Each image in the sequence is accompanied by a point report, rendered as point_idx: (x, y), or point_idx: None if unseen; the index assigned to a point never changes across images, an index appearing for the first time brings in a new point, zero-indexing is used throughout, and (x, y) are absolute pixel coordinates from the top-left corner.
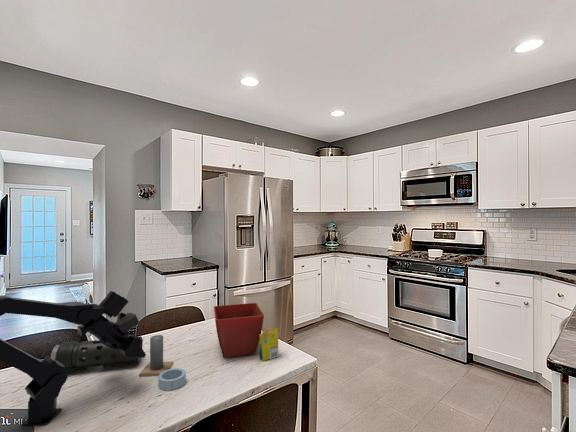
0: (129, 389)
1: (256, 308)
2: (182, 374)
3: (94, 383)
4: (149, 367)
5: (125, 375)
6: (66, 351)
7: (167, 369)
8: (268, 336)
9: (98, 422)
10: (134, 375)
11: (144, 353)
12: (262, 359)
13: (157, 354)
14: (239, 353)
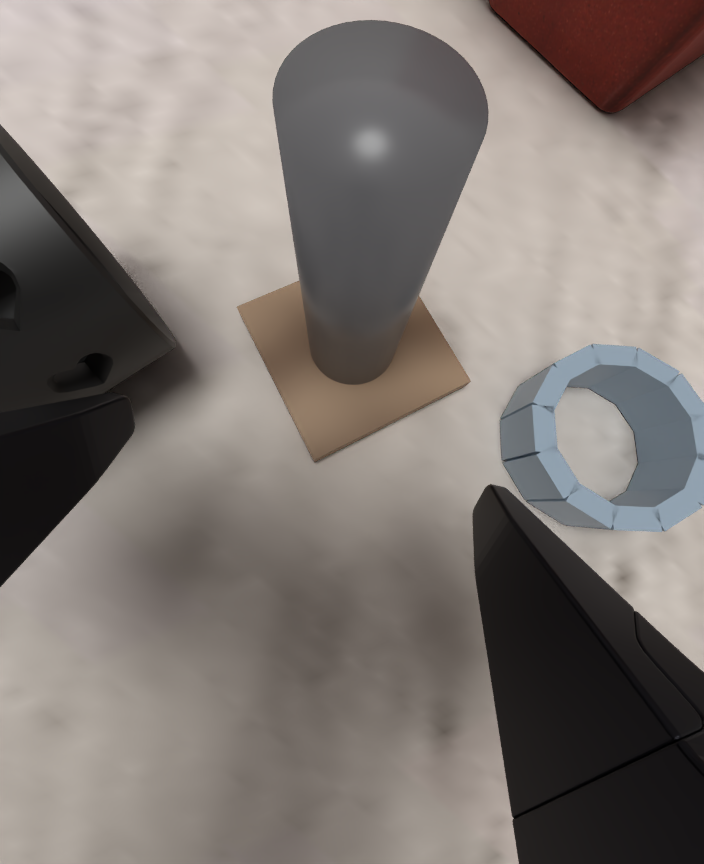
0: (394, 614)
1: None
2: (687, 405)
3: (76, 670)
4: (303, 361)
5: (208, 487)
6: None
7: (439, 338)
8: None
9: None
10: (269, 462)
11: (530, 522)
12: None
13: (410, 309)
14: (691, 58)
